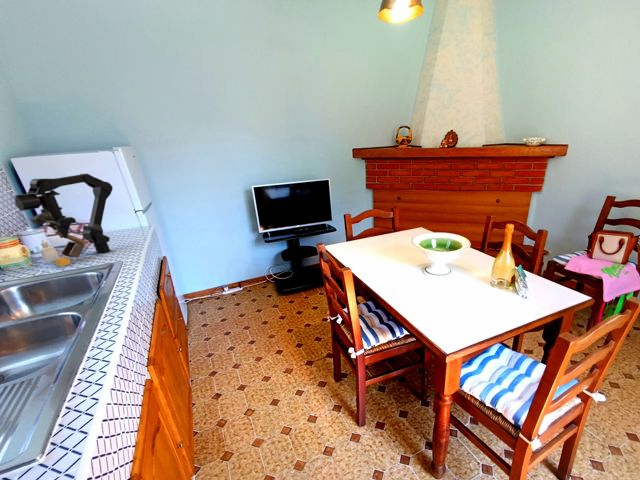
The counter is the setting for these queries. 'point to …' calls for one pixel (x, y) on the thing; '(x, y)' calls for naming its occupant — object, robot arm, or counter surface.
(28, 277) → the counter surface
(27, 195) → the robot arm
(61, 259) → the block
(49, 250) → the eye dropper bottle
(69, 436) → the counter surface
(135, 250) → the counter surface
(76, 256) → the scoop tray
